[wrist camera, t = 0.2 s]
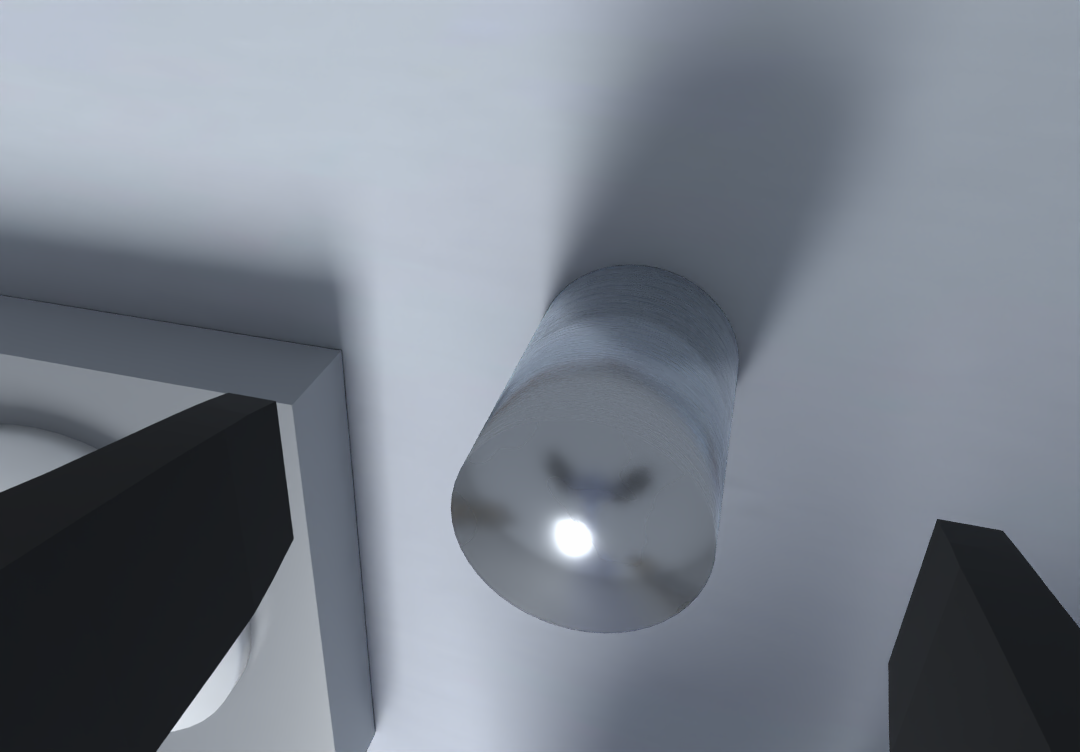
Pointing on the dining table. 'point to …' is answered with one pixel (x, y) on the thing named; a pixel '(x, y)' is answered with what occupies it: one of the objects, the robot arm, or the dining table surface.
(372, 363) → the dining table surface
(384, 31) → the dining table surface
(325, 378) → the kitchen scale
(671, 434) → the cylinder
